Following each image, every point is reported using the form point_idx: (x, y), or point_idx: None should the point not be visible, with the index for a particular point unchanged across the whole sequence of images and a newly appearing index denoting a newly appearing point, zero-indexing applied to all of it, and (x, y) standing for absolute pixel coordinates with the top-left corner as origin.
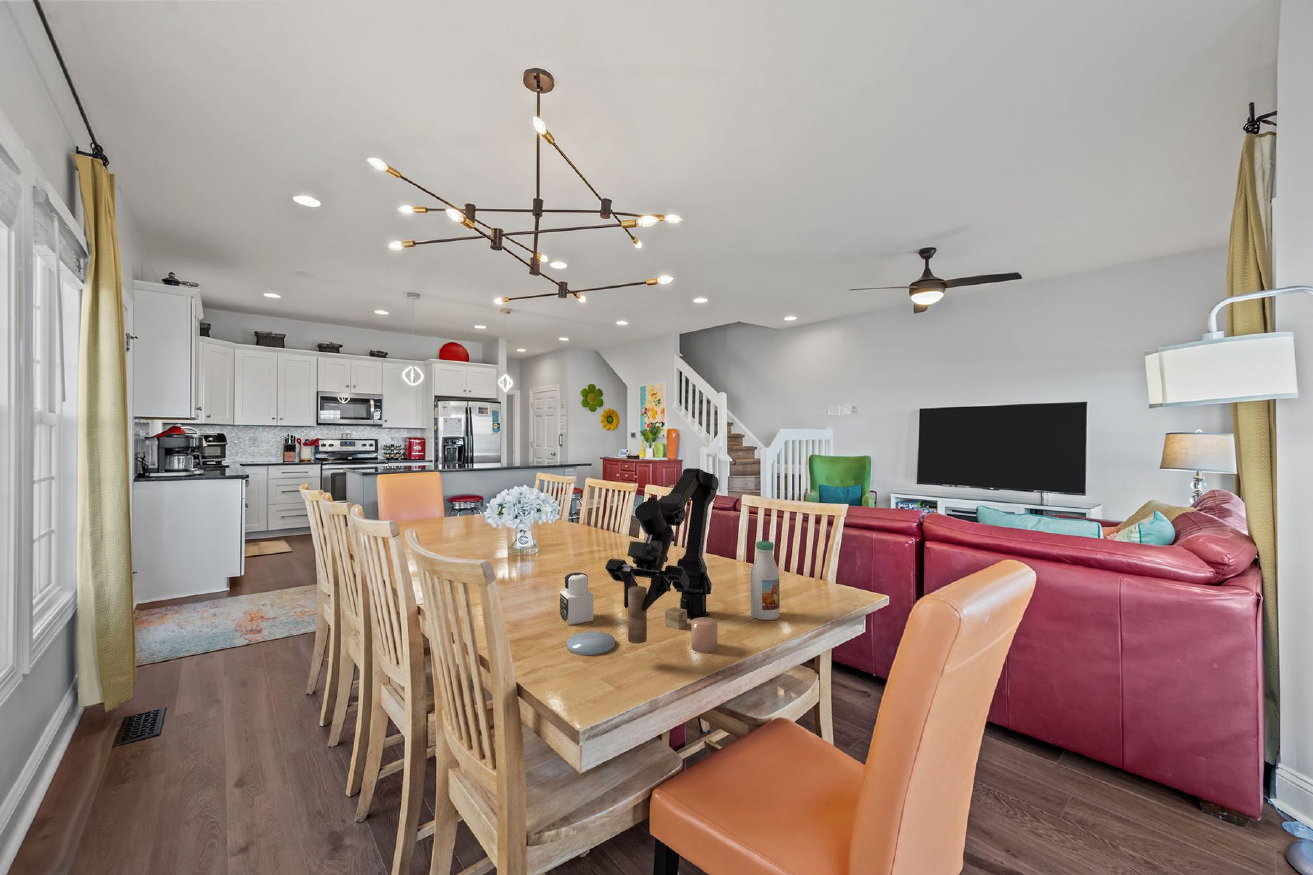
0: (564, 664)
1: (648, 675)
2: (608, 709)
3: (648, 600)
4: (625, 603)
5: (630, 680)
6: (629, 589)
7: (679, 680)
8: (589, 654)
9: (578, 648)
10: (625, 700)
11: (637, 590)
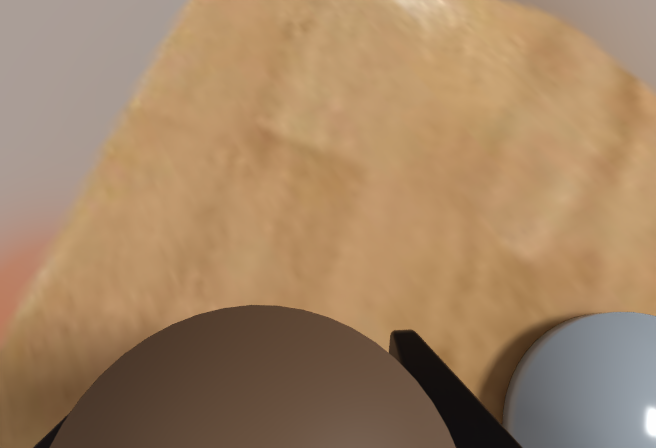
0: (571, 202)
1: (200, 280)
2: (217, 11)
3: (51, 432)
4: (405, 343)
5: (248, 207)
6: (386, 389)
7: (56, 301)
8: (549, 330)
9: (618, 319)
10: (193, 77)
11: (189, 413)
